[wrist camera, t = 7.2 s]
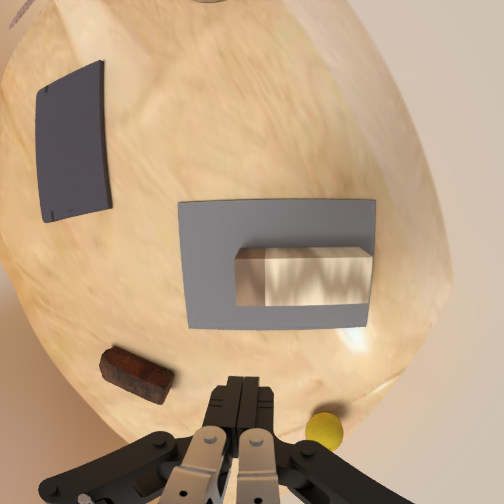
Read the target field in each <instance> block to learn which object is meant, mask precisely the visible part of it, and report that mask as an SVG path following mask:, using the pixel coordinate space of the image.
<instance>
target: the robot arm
mask: <svg viewBox="0 0 504 504" xmlns="http://www.w3.org/2000/svg"><path fill="white" fill-rule="evenodd" d="M194 1H199V2H217V1H222V0H194ZM273 415H274V393H273V392H272V390H271V388H270V387H259V377H240V376H229V377H228V381H227V385H226V386H221V385H218V386H217V387H216V388H215V389H214V390H213V391H212V393H211V397H210V400H209V404H208V407H207V411H206V414H205V418H204V421H203V425H202V428H200V429H198V430H197V431H196V432H195V434H194V435H193V436H190V437H186V438H177V439H175V438H174V437H173V435H171V434H170V433H168V432H164V431H157V432H153V433H151V434H149V435H147V436H145V437H143V438H141V439H139V440H137V441H135V442H133V443H131V444H129V445H127V446H125V447H122V448H120V449H118V450H116V451H114V452H112V453H110V454H107V455H105V456H103V457H100V458H98V459H96V460H94V461H91V462H89V463H86V464H84V465H82V466H79V467H77V468H74V469H72V470H69V471H67V472H64V473H61V474H58V475H56V476H53V477H50V478H47V479H45V480H43V481H42V482H41V483H40V485H39V488H38V491H39V495H40V497H41V498H42V499H43V500H44V501H45V502H46V503H47V504H146V503H148V502H150V501H152V500H153V499H155V498H157V497H159V496H161V497H160V500H159V502H158V504H223V500H224V496H225V492H226V488H227V485H228V481H229V477H230V473H231V466H232V459H233V458H238V457H239V472H238V475H237V499H236V504H280V496H279V485H283V486H287V488H288V489H289V490H290V491H291V492H292V493H293V494H294V495H295V496H296V497H298V498H299V499H300V500H301V501H302V502H303V503H305V504H414V503H412V502H411V501H409V500H407V499H405V498H403V497H402V496H400V495H398V494H396V493H395V492H393V491H391V490H389V489H388V488H386V487H385V486H383V485H381V484H380V483H378V482H376V481H375V480H373V479H371V478H370V477H368V476H367V475H365V474H363V473H362V472H360V471H359V470H358V469H356V468H355V467H353V466H351V465H350V464H349V463H347V462H346V461H344V460H343V459H341V458H340V457H338V456H337V455H335V454H334V453H333V452H331V451H330V450H329V449H327V448H326V447H324V446H323V445H322V444H320V443H319V442H317V441H314V440H302V441H299V442H297V443H296V444H289V443H286V442H283V441H281V440H279V439H278V438H277V437H276V436H275V434H274V432H273ZM278 484H279V485H278Z"/></svg>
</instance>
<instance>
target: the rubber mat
mask: <svg viewBox="0 0 504 504" xmlns="http://www.w3.org/2000/svg"><path fill="white" fill-rule="evenodd" d="M375 211H376V200H348V199H263V200H226V201H202V202H182V203H178V219H179V234H180V248H181V260H182V271H183V282H184V292H185V301H186V310H187V318H188V326H189V328H192V329H217V330H308V329H333V328H352V327H366V324H367V317H368V309H369V303H360V304H337V305H305V306H236V289H235V267H234V258H235V256H236V254H237V253H238V251H239V249H240V248H310V247H360V248H361V249H363V250H364V251H365V252H367V253H368V254H369V255H370V256H372V257H373V256H374V239H375ZM372 269H373V261H372ZM371 281H372V274H371ZM370 291H371V285H370ZM369 300H370V295H369Z"/></svg>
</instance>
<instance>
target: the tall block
mask: <svg viewBox="0 0 504 504" xmlns="http://www.w3.org/2000/svg"><path fill="white" fill-rule="evenodd" d="M372 261H373V257H372V256H370V255H369V254H368V253H367V252H365V251H364V250H363V249H361V248H360V247H310V248H240V249H239V251H238V253H237V254H236V256H235V258H234V267H235V289H236V306H305V305H337V304H360V303H369V295H370V285H371V274H372Z"/></svg>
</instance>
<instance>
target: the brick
mask: <svg viewBox="0 0 504 504" xmlns="http://www.w3.org/2000/svg"><path fill="white" fill-rule="evenodd" d="M99 367H100V371H101V373H102V377H103V378H104V379H105V380H106V381H108V382H110V383H112V384H114V385H116V386H118V387H120V388H122V389H124V390H126V391H129V392H131V393H133V394H135V395H137V396H140V397H141V398H144V399H146V400H148V401H151V402H153V403H155V404H158V405H162V404H163V403H164V401H165V399H166V396H167V395H168V393H169V390H170V388H171V384H172V380H173V375H174V374H173V373H172V372H171V371H170V370H167V369H165V368H161V367H159V366H157V365H156V364H154V363H151V362H149V361H147V360H144V359H142V358H140V357H137V356H135V355H133V354H131V353H129V352H126V351H124V350H122V349H120V348H117V347H113V348H111V349H107V350H106V351H105V352H104V353H103V354H102V356H101V361H100V364H99Z"/></svg>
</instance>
